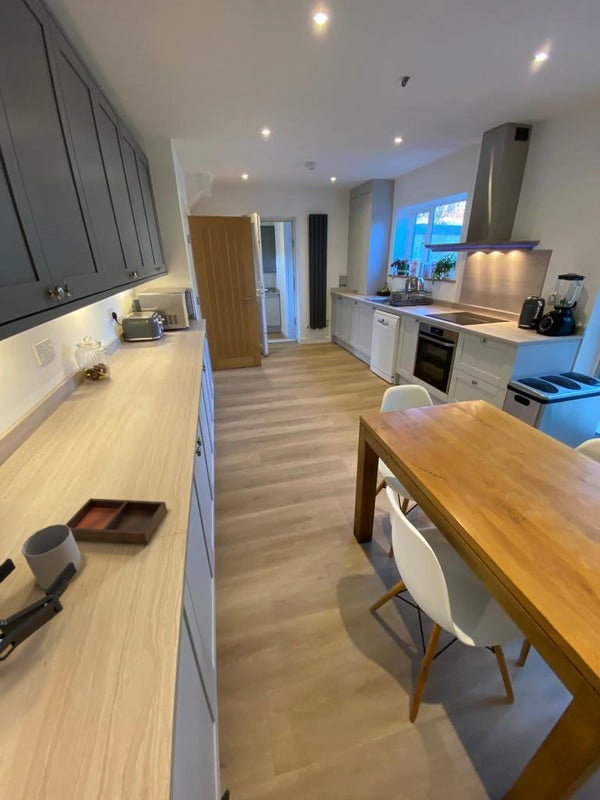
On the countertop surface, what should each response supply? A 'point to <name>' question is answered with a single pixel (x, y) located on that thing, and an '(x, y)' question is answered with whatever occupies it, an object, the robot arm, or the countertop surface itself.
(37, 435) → the countertop surface
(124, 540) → the tray
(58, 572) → the cup
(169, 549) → the countertop surface
